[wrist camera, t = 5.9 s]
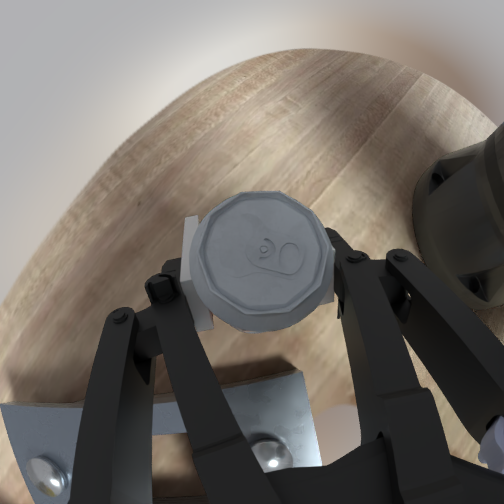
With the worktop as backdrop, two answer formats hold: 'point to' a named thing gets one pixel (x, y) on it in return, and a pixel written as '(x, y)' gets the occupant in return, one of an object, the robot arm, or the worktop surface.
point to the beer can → (261, 261)
